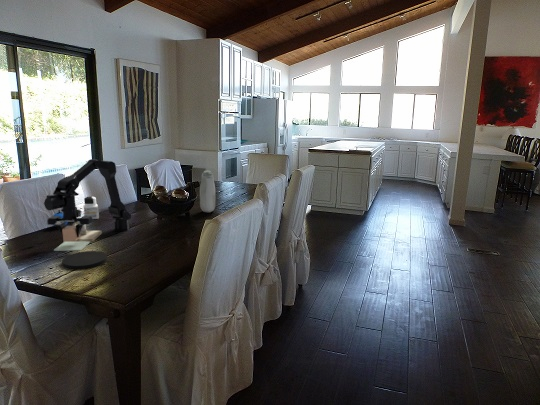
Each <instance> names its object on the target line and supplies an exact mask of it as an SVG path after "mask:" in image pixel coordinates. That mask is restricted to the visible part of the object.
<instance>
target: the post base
mask: <svg viewBox="0 0 540 405" xmlns="http://www.w3.org/2000/svg"><path fill="white" fill-rule="evenodd" d="M102 232H103V231H102V230H87V224H84V225H83V226H82V229H81V232H80V238H79V239H78V240H77V241H90V243H93V242H94V241H95V240H96V239H97V238H98V237H99V236H100V235H102V234H103V233H102ZM64 242H75V241H63V243H64Z"/></svg>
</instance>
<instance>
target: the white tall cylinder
mask: <svg viewBox="0 0 540 405" xmlns="http://www.w3.org/2000/svg"><path fill="white" fill-rule="evenodd" d="M215 185H216V184H215V179H214V173H213V172H212V171H211V170H210V169H209V170H206V169H205V170H204V171H202V173H201V181H200V185H199V207H200V209H201V211H203V212H204V213H211V212H213V211H214V210H215V208H216V186H215Z"/></svg>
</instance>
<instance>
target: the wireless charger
mask: <svg viewBox="0 0 540 405" xmlns="http://www.w3.org/2000/svg"><path fill="white" fill-rule="evenodd" d="M61 260H62V261H61V263H62V267H63V268H64V269H67V270H74V271H75V270H78V271H80V270H88V269H93V268H97V267H100V266H102V265H104V264H105V263H107V261H108V254H107V253H105V252H103V251H99V250H87V251H80V252H75V253H72V254H69V255H66V256H65V257H64V258H62V259H61Z"/></svg>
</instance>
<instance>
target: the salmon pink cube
mask: <svg viewBox="0 0 540 405" xmlns="http://www.w3.org/2000/svg"><path fill="white" fill-rule="evenodd" d="M62 232H63V235H62V238H63V239H62V240H63V242H64V241H77V240H78V239H79V238H80V235H79V237H77V232H76V225H65V228H63V229H62Z"/></svg>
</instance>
